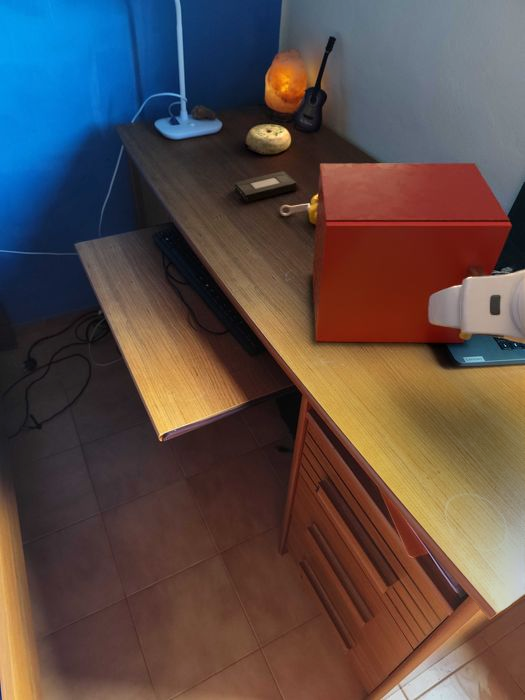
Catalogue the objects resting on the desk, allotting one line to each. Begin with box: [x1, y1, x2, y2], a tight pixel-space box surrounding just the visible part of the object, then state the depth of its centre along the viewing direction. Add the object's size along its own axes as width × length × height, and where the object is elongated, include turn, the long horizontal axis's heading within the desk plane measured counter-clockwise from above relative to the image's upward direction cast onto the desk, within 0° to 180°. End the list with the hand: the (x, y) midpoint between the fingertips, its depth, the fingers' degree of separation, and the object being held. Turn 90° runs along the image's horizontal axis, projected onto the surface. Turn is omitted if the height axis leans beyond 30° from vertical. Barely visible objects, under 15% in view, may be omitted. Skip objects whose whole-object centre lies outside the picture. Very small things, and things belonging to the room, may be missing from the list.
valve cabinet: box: [311, 162, 510, 333], centre depth 81 cm, size 18×26×24 cm
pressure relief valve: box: [279, 194, 318, 226], centre depth 110 cm, size 6×12×10 cm
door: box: [315, 221, 513, 344], centre depth 73 cm, size 7×26×24 cm, turn 88°
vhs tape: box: [234, 170, 297, 203], centre depth 122 cm, size 8×14×2 cm, turn 115°
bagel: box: [245, 123, 292, 155], centre depth 139 cm, size 14×13×5 cm
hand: (488, 312), depth 65 cm, fingers open, 8 cm apart
